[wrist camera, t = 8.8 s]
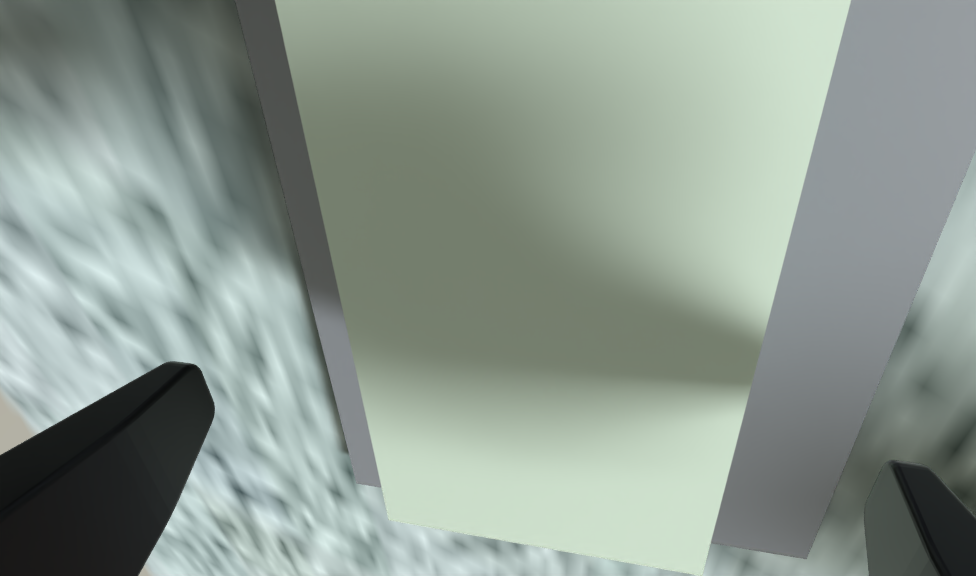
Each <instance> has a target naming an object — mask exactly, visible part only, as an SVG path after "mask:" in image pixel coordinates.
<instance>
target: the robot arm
mask: <svg viewBox="0 0 976 576" xmlns="http://www.w3.org/2000/svg"><path fill="white" fill-rule="evenodd" d="M214 413H215V406H214V401H213V399H212V396H211V394H210V391H209V389H208V386H207V384H206V381H205V379H204V376H203V374H202V371H201V370H200V368H199V367H198V366H196V365H195V364H191V363H183V362H176V361H170V362H166V363H164V364H162V365H160V366H158V367H157V368H155V369H153V370H151V371H149V372H148V373H146V374H144V375H142V376H140V377H139V378H137V379H135V380H133V381H132V382H130V383H128V384H126V385H124V386H123V387H121V388H119V389H117V390H115V391H114V392H112V393H110V394H108V395H107V396H105V397H103V398H101V399H99V400H98V401H96V402H94V403H92V404H91V405H89V406H87V407H85V408H83V409H82V410H80V411H78V412H76V413H74V414H73V415H71V416H69V417H67V418H66V419H64V420H62V421H60V422H58V423H57V424H55V425H53V426H51V427H49V428H48V429H46V430H44V431H42V432H41V433H39V434H37V435H35V436H33V437H32V438H30V439H28V440H26V441H24V442H23V443H21V444H19V445H17V446H16V447H14V448H12V449H10V450H9V451H7V452H5V453H3V454H1V455H0V576H138V575H139V574H140V572H141V570H142V568H143V566H144V565H145V563H146V561H147V559H148V557H149V556H150V554H151V552H152V550H153V548H154V547H155V545H156V543H157V541H158V539H159V538H160V536H161V534H162V532H163V530H164V528H165V527H166V525H167V523H168V521H169V519H170V517H171V515H172V513H173V511H174V509H175V507H176V504H177V502H178V500H179V498H180V496H181V493H182V491H183V489H184V486H185V484H186V482H187V479H188V477H189V475H190V472H191V470H192V468H193V465H194V463H195V461H196V459H197V456H198V454H199V452H200V449H201V447H202V445H203V442H204V440H205V438H206V435H207V433H208V431H209V428H210V426H211V424H212V421H213V418H214ZM864 525H865V536H866V547H867V558H868V569H869V576H976V517H975V516H974V515H973V514H972V512H971V511H970V510H969V509H968V508H967V507H966V506H965V505H964V504H963V503H962V502H961V500H960V499H959V498H958V497H957V496H956V495H955V494H954V493H953V492H952V491H951V490H950V488H949V487H948V486H947V485H946V484H945V483H944V482H943V481H942V480H941V479H940V478H939V476H938V475H937V474H936V473H935V472H934V471H933V470H932V469H930V468H929V467H928V466H926V465H923V464H919V463H912V462H904V461H897V460H890V461H888V462H886V463H885V464H884V466H883V467H882V469H881V471H880V473H879V475H878V478H877V480H876V482H875V484H874V486H873V488H872V491H871V493H870V495H869V497H868V499H867V502H866V505H865V511H864Z"/></svg>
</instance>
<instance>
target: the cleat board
mask: <svg viewBox="0 0 976 576" xmlns="http://www.w3.org/2000/svg"><path fill="white" fill-rule="evenodd" d="M235 4H236V8H237V12H238V16H239V19H240V23H241V27H242V31H243V35H244V39H245V43H246V47H247V51H248V55H249V59H250V63H251V67H252V71H253V75H254V79H255V83H256V87H257V91H258V95H259V99H260V103H261V107H262V111H263V115H264V119H265V123H266V126H267V130H268V134H269V138H270V142H271V146H272V150H273V154H274V158H275V162H276V166H277V170H278V174H279V178H280V182H281V186H282V190H283V194H284V198H285V202H286V206H287V210H288V214H289V218H290V222H291V226H292V230H293V234H294V237H295V241H296V245H297V249H298V253H299V257H300V261H301V265H302V269H303V273H304V277H305V281H306V285H307V289H308V293H309V297H310V301H311V305H312V309H313V313H314V317H315V321H316V325H317V329H318V333H319V337H320V341H321V344H322V348H323V352H324V356H325V360H326V364H327V368H328V372H329V376H330V380H331V384H332V388H333V392H334V396H335V400H336V404H337V408H338V412H339V416H340V420H341V424H342V428H343V432H344V436H345V440H346V444H347V448H348V452H349V455H350V459H351V463H352V467H353V471H354V475H355V479H356V483H357V484H363V485H369V486H375V487H381V482H380V478H379V473H378V469H377V464H376V460H375V455H374V450H373V446H372V441H371V437H370V432H369V428H368V423H367V418H366V414H365V409H364V405H363V400H362V396H361V391H360V387H359V382H358V377H357V373H356V368H355V364H354V359H353V355H352V350H351V345H350V341H349V336H348V332H347V327H346V323H345V318H344V313H343V309H342V304H341V300H340V295H339V291H338V286H337V282H336V277H335V272H334V268H333V263H332V259H331V254H330V250H329V245H328V240H327V236H326V231H325V227H324V222H323V218H322V213H321V209H320V204H319V199H318V195H317V190H316V186H315V181H314V177H313V172H312V167H311V163H310V158H309V154H308V149H307V145H306V140H305V135H304V131H303V126H302V122H301V117H300V113H299V108H298V104H297V99H296V94H295V90H294V85H293V81H292V76H291V72H290V67H289V62H288V58H287V53H286V49H285V44H284V40H283V35H282V30H281V26H280V21H279V17H278V12H277V8H276V3H275V0H235ZM975 150H976V0H851V3H850V7H849V10H848V14H847V18H846V22H845V26H844V30H843V34H842V37H841V41H840V45H839V49H838V53H837V57H836V61H835V65H834V68H833V72H832V76H831V80H830V84H829V88H828V92H827V95H826V99H825V103H824V107H823V111H822V115H821V119H820V122H819V126H818V130H817V134H816V138H815V142H814V146H813V150H812V153H811V157H810V161H809V165H808V169H807V173H806V177H805V180H804V184H803V188H802V192H801V196H800V200H799V204H798V207H797V211H796V215H795V219H794V223H793V227H792V231H791V235H790V238H789V242H788V246H787V250H786V254H785V258H784V262H783V265H782V269H781V273H780V277H779V281H778V285H777V289H776V292H775V296H774V300H773V304H772V308H771V312H770V316H769V320H768V323H767V327H766V331H765V335H764V339H763V343H762V347H761V350H760V354H759V358H758V362H757V366H756V370H755V374H754V377H753V381H752V385H751V389H750V393H749V397H748V401H747V405H746V408H745V412H744V416H743V420H742V424H741V428H740V432H739V435H738V439H737V443H736V447H735V451H734V455H733V459H732V463H731V466H730V470H729V474H728V478H727V482H726V486H725V490H724V493H723V497H722V501H721V505H720V509H719V513H718V517H717V520H716V524H715V528H714V532H713V536H712V540H711V543H714V544H720V545H725V546H731V547H737V548H743V549H749V550H755V551H761V552H767V553H773V554H779V555H785V556H791V557H797V558H803V559H807V557H808V554H809V552H810V549H811V547H812V544H813V542H814V540H815V537H816V535H817V532H818V530H819V528H820V525H821V523H822V520H823V518H824V515H825V513H826V511H827V508H828V506H829V503H830V501H831V499H832V496H833V494H834V491H835V489H836V486H837V484H838V482H839V479H840V477H841V474H842V472H843V470H844V467H845V465H846V462H847V460H848V457H849V455H850V453H851V450H852V448H853V445H854V443H855V441H856V438H857V436H858V433H859V431H860V428H861V426H862V424H863V421H864V419H865V416H866V414H867V412H868V409H869V407H870V404H871V402H872V399H873V397H874V395H875V392H876V390H877V387H878V385H879V382H880V380H881V378H882V375H883V373H884V370H885V368H886V366H887V363H888V361H889V358H890V356H891V353H892V351H893V349H894V346H895V344H896V341H897V339H898V337H899V334H900V332H901V329H902V327H903V324H904V322H905V320H906V317H907V315H908V312H909V310H910V308H911V305H912V303H913V300H914V298H915V295H916V293H917V291H918V288H919V286H920V283H921V281H922V279H923V276H924V274H925V271H926V269H927V266H928V264H929V262H930V259H931V257H932V254H933V252H934V250H935V247H936V245H937V242H938V240H939V237H940V235H941V233H942V230H943V228H944V225H945V223H946V221H947V218H948V216H949V213H950V211H951V208H952V206H953V204H954V201H955V199H956V196H957V194H958V192H959V189H960V187H961V184H962V182H963V179H964V177H965V175H966V172H967V170H968V167H969V165H970V162H971V160H972V158H973V155H974V153H975ZM381 488H382V487H381Z"/></svg>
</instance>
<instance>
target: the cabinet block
mask: <svg viewBox="0 0 976 576" xmlns="http://www.w3.org/2000/svg"><path fill="white" fill-rule="evenodd" d="M275 3H276V8H277V12H278V17H279V21H280V26H281V30H282V35H283V40H284V44H285V49H286V53H287V58H288V62H289V67H290V72H291V76H292V81H293V85H294V90H295V94H296V99H297V104H298V108H299V113H300V117H301V122H302V126H303V131H304V135H305V140H306V145H307V149H308V154H309V158H310V163H311V167H312V172H313V177H314V181H315V186H316V190H317V195H318V199H319V204H320V209H321V213H322V218H323V222H324V227H325V231H326V236H327V240H328V245H329V250H330V254H331V259H332V263H333V268H334V272H335V277H336V282H337V286H338V291H339V295H340V300H341V304H342V309H343V313H344V318H345V323H346V327H347V332H348V336H349V341H350V345H351V350H352V355H353V359H354V364H355V368H356V373H357V377H358V382H359V387H360V391H361V396H362V400H363V405H364V409H365V414H366V418H367V423H368V428H369V432H370V437H371V441H372V446H373V450H374V455H375V460H376V464H377V469H378V473H379V478H380V482H381V487H382V491H383V496H384V501H385V505H386V510H387V514H388V519H389V520H390V521H396V522H402V523H407V524H413V525H418V526H424V527H430V528H435V529H441V530H447V531H452V532H458V533H463V534H469V535H475V536H480V537H486V538H491V539H497V540H503V541H508V542H514V543H520V544H525V545H531V546H536V547H542V548H548V549H553V550H559V551H564V552H570V553H576V554H581V555H587V556H593V557H598V558H604V559H609V560H615V561H621V562H626V563H632V564H637V565H643V566H649V567H654V568H660V569H666V570H671V571H677V572H682V573H688V574H694V575H699V576H702V575H703V571H704V567H705V563H706V559H707V555H708V551H709V548H710V544H711V540H712V536H713V532H714V528H715V524H716V520H717V517H718V513H719V509H720V505H721V501H722V497H723V493H724V490H725V486H726V482H727V478H728V474H729V470H730V466H731V463H732V459H733V455H734V451H735V447H736V443H737V439H738V435H739V432H740V428H741V424H742V420H743V416H744V412H745V408H746V405H747V401H748V397H749V393H750V389H751V385H752V381H753V377H754V374H755V370H756V366H757V362H758V358H759V354H760V350H761V347H762V343H763V339H764V335H765V331H766V327H767V323H768V320H769V316H770V312H771V308H772V304H773V300H774V296H775V292H776V289H777V285H778V281H779V277H780V273H781V269H782V265H783V262H784V258H785V254H786V250H787V246H788V242H789V238H790V235H791V231H792V227H793V223H794V219H795V215H796V211H797V207H798V204H799V200H800V196H801V192H802V188H803V184H804V180H805V177H806V173H807V169H808V165H809V161H810V157H811V153H812V150H813V146H814V142H815V138H816V134H817V130H818V126H819V122H820V119H821V115H822V111H823V107H824V103H825V99H826V95H827V92H828V88H829V84H830V80H831V76H832V72H833V68H834V65H835V61H836V57H837V53H838V49H839V45H840V41H841V37H842V34H843V30H844V26H845V22H846V18H847V14H848V10H849V7H850V3H851V0H275Z"/></svg>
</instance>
